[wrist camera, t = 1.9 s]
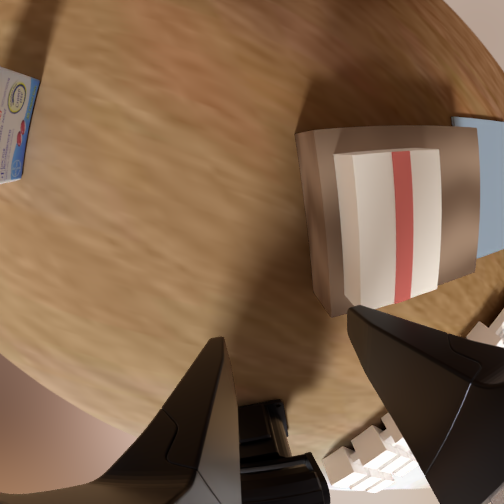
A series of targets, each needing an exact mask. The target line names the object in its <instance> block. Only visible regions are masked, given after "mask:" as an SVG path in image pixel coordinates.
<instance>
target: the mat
mask: <svg viewBox="0 0 504 504" xmlns="http://www.w3.org/2000/svg"><path fill="white" fill-rule="evenodd" d="M451 120H452V126H457V127H473V128H477V134H478V145H479V160H480V222H479V237H478V249H477V258H480V257H483V256H486V255H488V254H491V253H494V252H497V251H499V250H502V249H504V122H499V121H492V120H483V119H474V118H464V117H451ZM477 258H476V259H477Z"/></svg>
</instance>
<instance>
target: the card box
mask: <svg viewBox="0 0 504 504" xmlns="http://www.w3.org/2000/svg"><path fill="white" fill-rule="evenodd" d="M333 155H334V163H335V171H336V180H337V189H338V199H339V210H340V222H341V235H342V250H343V269H344V295H345V296H346V297H347V298H348V300H349V301H350V302H351V303H352V304H353V305H354V306H357V305H362V306H365V307H369V308H372V309H377V308H380V307H383V306H387V305H390V304H393V303H395V304H396V303H399V302H402V301H406V300H409V299H410V298H412V297H415V296H418V295H421V294H424V293H427V292H430V291H432V290H435V289H437V284H438V274H439V263H440V247H441V219H442V198H441V170H440V155H439V149H425V148H403V149H387V150H373V151H361V152H350V153H340V154H333Z"/></svg>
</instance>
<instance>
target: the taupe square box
mask: <svg viewBox="0 0 504 504" xmlns="http://www.w3.org/2000/svg"><path fill="white" fill-rule="evenodd" d="M295 140H296V146H297V153H298V160H299V167H300V174H301V181H302V189H303V196H304V204H305V213H306V221H307V230H308V239H309V249H310V259H311V269H312V280H313V292H314V294H315V295H316V297H317V298H318V299H319V301H320V302H321V304H322V305H323V307H324V308H325V309H326V311H327V312H328V314H329V315H330V317H331V318H332V317H336V316H340V315H344V314H347V311H348V308H350V307H353V306H354V305H353V304H352V303H351V302H350V301H349V300H348V298H347V297H346V296H345V295H344V269H343V250H342V235H341V222H340V210H339V199H338V189H337V180H336V171H335V163H334V155H333V154H340V153H350V152H361V151H373V150H387V149H403V148H425V149H439V155H440V170H441V198H442V219H441V247H440V263H439V274H438V284H437V286H438V285H441V284H444V283H447V282H449V281H452V280H455V279H458V278H460V277H463V276H466V275H468V274H471V273H474V272H475V267H476V258H477V249H478V237H479V222H480V160H479V145H478V134H477V128H473V127H457V126H428V125H394V126H363V127H346V128H332V129H320V130H311V131H306V132H302V133H297V134H295Z"/></svg>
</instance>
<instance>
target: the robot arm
mask: <svg viewBox="0 0 504 504" xmlns="http://www.w3.org/2000/svg"><path fill="white" fill-rule="evenodd" d="M347 332H348V336H349V338H350V340H351V343H352V345H353V347H354V349H355V351H356V354H357V356H358V358H359V360H360V363H361V365H362V367H363V369H364V371H365V373H366V375H367V377H368V379H369V380H370V382H371V384H372V385H373V387H374V389H375V390H376V392H377V394H378V395H379V397H380V399H381V400H382V402H383V404H384V405H385V407H386V409H387V410H388V412H389V414H390V415H391V417H392V419H393V421H394V422H395V424H396V426H397V427H398V429H399V431H400V433H401V434H402V436H403V438H404V440H405V441H406V443H407V445H408V447H409V448H410V450H411V452H412V454H413V455H414V457H415V459H416V461H417V463H418V464H419V466H420V468H421V470H422V471H423V473H424V475H426V476H425V477H426V479H427V481H428V483H429V485H430V486H431V488H432V490H433V492H434V494H435V495H436V497H437V499H438V501H439V503H440V504H488V503H490V502H491V503H492V504H504V347H499V346H494V345H489V344H485V343H481V342H477V341H472V340H469V339H465V338H462V337H458V336H455V335H452V334H448V335H447V333H446V332H443V331H439V330H436V329H433V328H430V327H427V326H424V325H421V324H418V323H414V322H411V321H408V320H405V319H402V318H399V317H396V316H393V315H390V314H387V313H384V312H381V311H378V310H375V309H372V308H369V307H365V306H362V305H357V306H353V307H350V308H348V311H347ZM277 404H278V405H277ZM287 437H288V431H287V424H286V417H285V411H284V404H283V401H282V400H280V399H278V400H273V401H268V402H264V403H259V404H254V405H248V406H243V407H238V405H237V398H236V392H235V386H234V380H233V374H232V368H231V363H230V358H229V354H228V350H227V347H226V343H225V339H224V337H222V336H221V337H215V338H211V339H209V341H208V342H207V344H206V345H205V346H204V348H203V349H202V351H201V352H200V354H199V355H198V356H197V358H196V359H195V361H194V362H193V364H192V365H191V367H190V368H189V369H188V371H187V372H186V374H185V375H184V376H183V378H182V379H181V381H180V382H179V384H178V385H177V386H176V388H175V389H174V391H173V392H172V394H171V395H170V396H169V398H168V399H167V401H166V402H165V403H164V405H163V406H162V409H160V410H159V412H158V413H157V415H156V416H155V417H154V419H153V420H152V421H151V423H150V424H149V425H148V427H147V428H146V429H145V430H144V431H143V433H142V434H141V435H140V436H139V437H138V438H137V440H136V441H135V442H134V443H133V444H132V445H131V446H130V447H129V448H128V449H127V451H125V453H124V454H123V455H122V456H121V457H120V458H119V459H118V460H117V461H116V462H115V463H114V464H113V465H112V466H111V467H110V468H109V469H108V470H107V471H106V472H105V473H104V474H103V475H102V476H101V477H99V478H98V479H96V480H94V481H92V482H89V483H86V484H83V485H78V486H73V487H69V488H63V489H57V490H51V491H44V492H37V493H29V494H6V493H1V492H0V504H330V493H329V489H328V485H327V482H326V480H325V478H324V476H323V474H322V472H321V470H320V468H319V466H318V464H317V463H316V461H315V459H314V457H313V455H312V453H311V452H308V453H305V454H302V455H297V456H292V455H291V451H290V448H289V444H288V441H287Z"/></svg>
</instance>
